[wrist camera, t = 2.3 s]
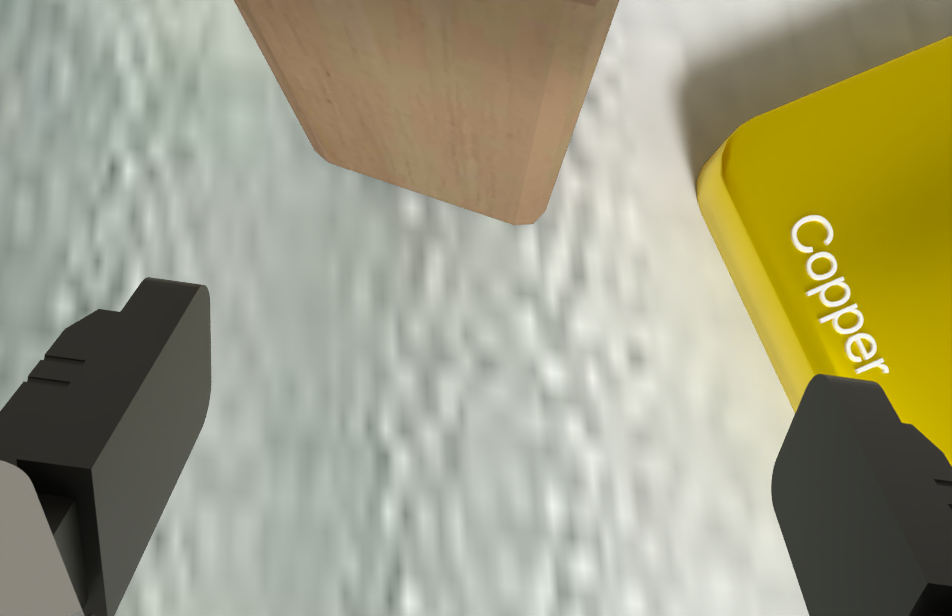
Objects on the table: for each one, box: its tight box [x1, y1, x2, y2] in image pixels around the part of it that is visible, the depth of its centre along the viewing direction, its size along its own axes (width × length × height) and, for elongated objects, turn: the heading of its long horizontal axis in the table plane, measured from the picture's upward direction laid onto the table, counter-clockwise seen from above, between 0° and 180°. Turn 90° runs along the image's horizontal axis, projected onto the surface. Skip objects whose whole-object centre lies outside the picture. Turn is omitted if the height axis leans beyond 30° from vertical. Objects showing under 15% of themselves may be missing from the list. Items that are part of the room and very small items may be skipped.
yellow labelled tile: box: [697, 35, 952, 466], centre depth 36 cm, size 15×15×5 cm
